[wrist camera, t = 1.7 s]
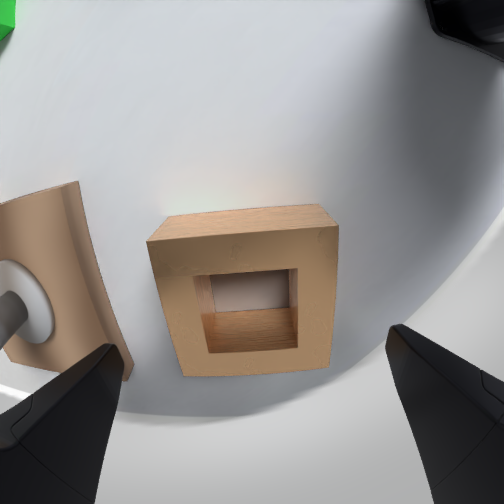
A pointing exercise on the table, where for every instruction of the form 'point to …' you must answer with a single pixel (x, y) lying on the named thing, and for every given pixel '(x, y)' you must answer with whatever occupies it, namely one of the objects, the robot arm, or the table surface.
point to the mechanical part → (7, 17)
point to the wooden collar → (248, 260)
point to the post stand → (52, 283)
